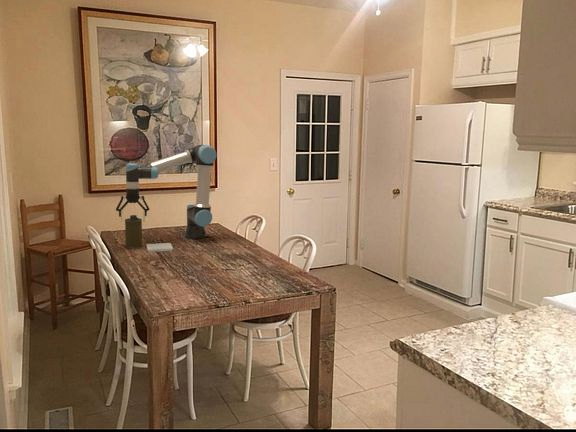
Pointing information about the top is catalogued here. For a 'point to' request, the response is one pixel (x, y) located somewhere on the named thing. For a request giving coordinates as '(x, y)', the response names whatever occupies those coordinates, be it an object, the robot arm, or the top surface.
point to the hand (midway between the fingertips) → (133, 221)
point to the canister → (133, 232)
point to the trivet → (159, 247)
